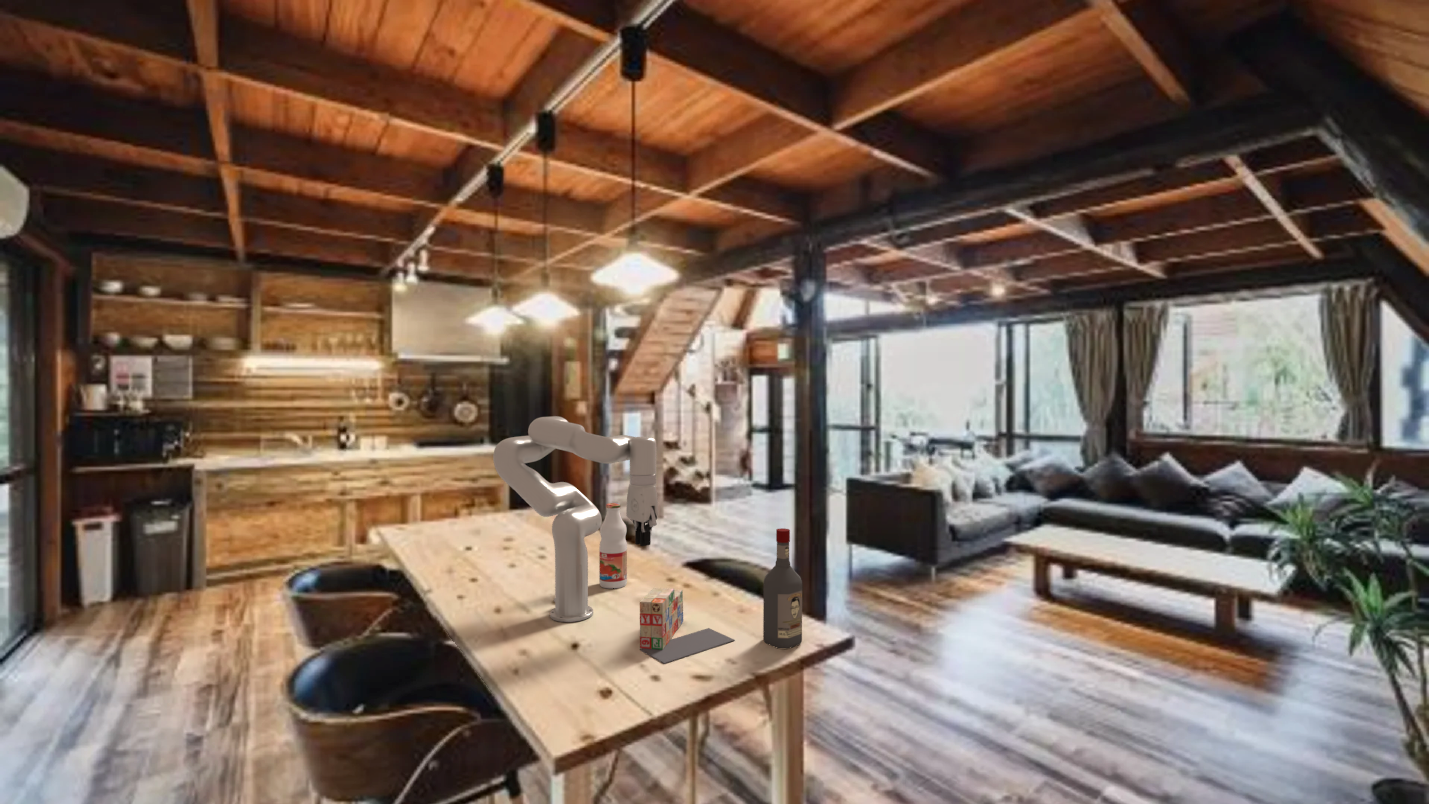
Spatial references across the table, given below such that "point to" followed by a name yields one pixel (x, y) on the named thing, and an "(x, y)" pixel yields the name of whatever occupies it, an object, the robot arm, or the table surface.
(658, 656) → the mat
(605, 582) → the fruit juice
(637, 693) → the table surface
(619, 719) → the table surface
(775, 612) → the liquor
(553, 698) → the table surface
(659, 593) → the stack of blocks
